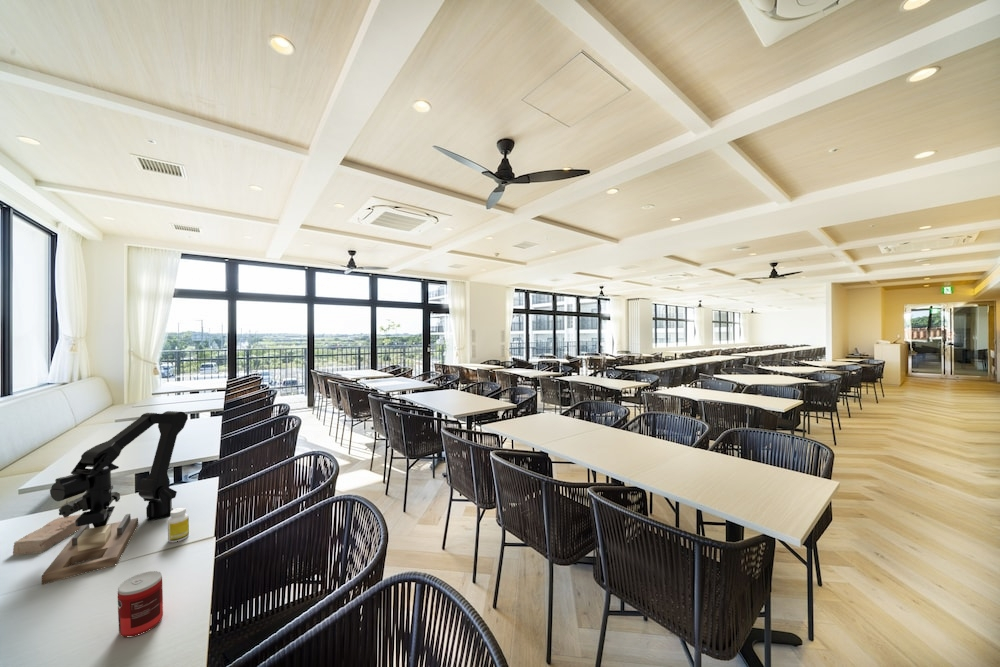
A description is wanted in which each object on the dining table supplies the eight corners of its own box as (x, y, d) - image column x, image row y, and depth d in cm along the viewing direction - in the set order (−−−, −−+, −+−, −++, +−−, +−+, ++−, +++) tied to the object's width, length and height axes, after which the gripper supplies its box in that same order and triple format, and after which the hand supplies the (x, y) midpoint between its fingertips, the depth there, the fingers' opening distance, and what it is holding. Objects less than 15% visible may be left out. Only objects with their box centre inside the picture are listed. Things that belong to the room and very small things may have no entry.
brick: (43, 553, 119) (43, 538, 119) (10, 557, 117) (10, 542, 117) (87, 526, 135) (87, 513, 135) (59, 529, 133) (58, 516, 133)
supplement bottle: (192, 536, 128) (191, 508, 128) (173, 544, 123) (172, 515, 123) (183, 532, 130) (183, 504, 130) (164, 540, 125) (163, 512, 125)
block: (111, 536, 124) (110, 524, 124) (105, 545, 119) (104, 532, 119) (84, 542, 120) (84, 529, 120) (77, 551, 115) (77, 538, 115)
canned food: (138, 614, 94) (136, 571, 93) (171, 612, 94) (170, 569, 94) (108, 640, 86) (107, 593, 86) (145, 637, 87) (144, 591, 86)
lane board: (138, 524, 136) (137, 510, 135) (116, 564, 113) (116, 548, 113) (78, 538, 127) (77, 523, 127) (41, 584, 104) (41, 567, 104)
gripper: (74, 482, 126) (75, 527, 127) (49, 505, 111) (51, 556, 111) (119, 475, 133) (121, 518, 133) (102, 495, 117) (104, 544, 118)
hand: (100, 533), depth 124 cm, fingers closed
